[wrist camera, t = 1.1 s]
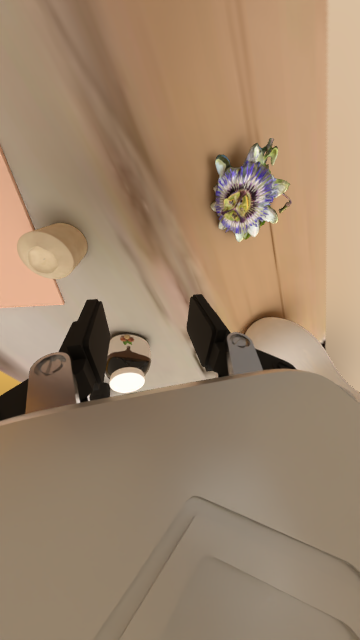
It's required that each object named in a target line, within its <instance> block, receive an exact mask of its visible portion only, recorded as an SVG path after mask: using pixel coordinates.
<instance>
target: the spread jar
mask: <svg viewBox="0 0 360 640" xmlns="http://www.w3.org/2000/svg"><path fill="white" fill-rule="evenodd" d="M150 364H151V353H150V347H149V344H148V342H147V341H146V340H145V339H144V338H142V337H141V336H139V335H137V334H133V333H122V334H119V335H116V336H114V337H113V338H112V339H111V340H110V344H109V350H108V357H107V363H106V370H105V375H106V376H107V377H108V378H109V379H110V383H109V385H110V388H111V389H112V390H114V391H116V392H121V393H127V392H133V391H135V390H138V389H139V388H141V387H142V386H143V384H144V382H145V377H144V376H145V375H146V373H147V372H148V370H149V368H150Z"/></svg>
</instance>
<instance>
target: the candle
mask: <svg viewBox="0 0 360 640" xmlns="http://www.w3.org/2000/svg"><path fill="white" fill-rule="evenodd" d="M87 248H88V247H87V241H86V239H85V237H84V235H83V234H82V233H81V232H80V231H79V230H78V229H77V228H75V227H74V226H72V225H69V224H66V223H56V224H53V225H50V226H46V227H43V228H40V229H37V230H34V231H31V232H28V233H25V234H24V235H22V236H21V237H20V238H19V240H18V243H17V251H18V254H19V257H20V259H21V260H22V262H23V263H24V264H25V265H26V266H27V267H28V268H29V269H30V270H31V271H33V272H34V273H36V274H38V275H40V276H42V277H45V278H49V279H61V278H64V277H66V276H68V275H69V274H70V273H71V272H72V271H73V269H74V268H75V267H76V266H77V265H78V263H79V262H80V261H81V260H82V259H83V257H84V256H85V255H86V253H87Z"/></svg>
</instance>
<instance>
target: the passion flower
mask: <svg viewBox="0 0 360 640" xmlns="http://www.w3.org/2000/svg"><path fill="white" fill-rule="evenodd" d="M273 140H274V139H273V138H270V139H269V142H268V144H267V145H266V147H264V148H260V147H259V145H258V143H256V144H254V145H253V146H252V147H251V149H250V151H249V153H248V155H247V158H246V160H245V162H244V164H243V166H241V167H238V168H233V167H232V166H231V165H230V161H229V159H228V158H227V157H226V156H225V155H218V156H217V157H216V160H215V165H216V168H217V172H218V174H219V179H218V184H216V185H215V186H214V187H213V189H214V191H215V197H216V200H215V201H214V202H213V203H212V204H211V208H212V210H213V211H215V212H217V213H218V215H217V216H220V218H219V219H218V220H220V221H219V229H226V228H227V230H228V231H229V230H231V231H233V233H234V232H235V237H236V240H237V241H238V242H241V241H242V239H243V238H244V239H248V238H249V237H250V236H253V237H255V236H257V234H258V232H259V229H260V226H262V225H264V223H265V221H267V222H271V223H274V224H275V223H277V221H278V217H277V213H276V211H275V210H273V209H272V208H271V207H270V205H271V204H270V203H269V202H273V198H277V197H278V196H279V195H281V194H283V195H284V196H285V197H286V198H288V199H289V200H290V198H289V197H288V196H286V195H285V194H284V192H285V191H286V190H287V189H288V187H289V185H290V183H288V182H287V181H284V180H282V179H276V178H274V176H273V175H271V171H270V170H269V166H268V165H269V164H267V165H266V161H267V158H268V157H271V164H272V165H273V164H274V162H275V160H276V158H277V154H278V148H277V146H275V147H274V148H272V143H273ZM265 152H266V154H265V156H264V153H265ZM290 204H291V200H290V201H289V202H287V203H286V204H285V206H284V207H283V208H281V209H279V212H280V213H282V212H283V211H284V210H285V209H286V208H287V207H289V206H290ZM227 230H226V231H227ZM225 233H226V232H225Z"/></svg>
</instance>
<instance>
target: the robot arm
mask: <svg viewBox="0 0 360 640" xmlns="http://www.w3.org/2000/svg"><path fill="white" fill-rule="evenodd" d="M187 332H188V334H189V336H190V339H191V341H192V343H193V346H194V348H195V351H196V353H197V355H198V358H199V360H200V363H201V365H202V367H205V369H206V371H214V372H216V378H213V379H207V380H202V381H196V382H190V383H185V384H179V385H174V386H168V387H163V388H157V389H152V390H146V391H140V392H135V393H130V394H124V395H119V396H113V397H108V398H103V399H97V400H92V401H90V399H89V394H90V393H92V392H93V391H94V390H99V387H100V383H103V382H104V376H105V370H106V363H107V357H108V350H109V344H110V332H109V328H108V324H107V320H106V316H105V312H104V308H103V304H102V302H101V301H98V299H93V300H87V301H86V303H85V305H84V308H83V310H82V312H81V314H80V317H79V319H78V321H75V322H73V323H72V325H71V327H70V329H69V331H68V333H67V335H66V337H65V340H64V342H63V344H62V346H61V348H60V350H59V352H56V353H51V354H48V355H46V356H44V357H42V358H40V359H39V360H37V361H36V362H35V363H34V364H33V365H32V367H31V368H30V371H29V379H27V380H25V381H24V382H22V383H21V384H19V385H17V386H16V387H14V388H12V389H11V390H9V391H7V392H6V393H4V394H3V395H1V396H0V640H360V403H359V402H358V401H357V400H356V398H355V397H354V395H353V394H352V393H351V392H349V391H348V390H347V389H345V388H343V387H341V386H339V385H337V384H335V383H334V382H332V381H331V380H329V379H328V378H326V377H324V376H321V375H319V374H316V373H312V372H308V371H303V370H297V369H296V368H295V367H294V366H293V365H292V364H290V363H289V362H287V361H285V360H282V359H280V358H277V357H275V356H273V355H270V354H268V353H265V352H263V351H260V350H258V349H256V348H255V347H254V344H253V342H252V340H251V339H250V338H249V337H248V336H246V335H244V334H242V333H236V332H234V333H230V331H229V330H228V329H227V327H226V326H225V325H224V323H223V322H222V321H221V319H220V318H219V316H218V315H217V314H216V312H215V311H214V310H213V309H212V308H211V306H210V305H209V303H208V302H207V301H206V299H205V298H204V297H203V295H202V294H197V295H193V297H191V298H190V305H189V313H188V321H187Z"/></svg>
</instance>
